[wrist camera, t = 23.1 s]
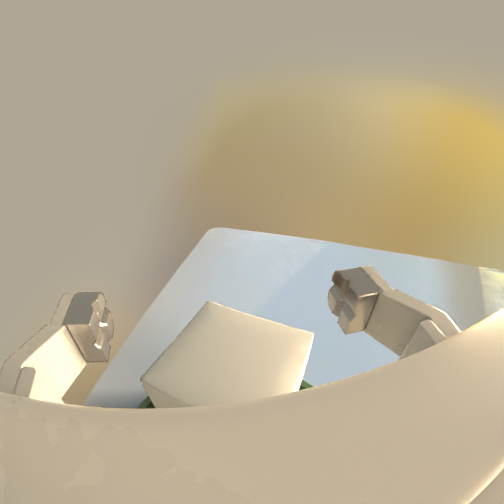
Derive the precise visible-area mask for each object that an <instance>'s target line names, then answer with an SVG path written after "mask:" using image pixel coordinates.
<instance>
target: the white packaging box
mask: <svg viewBox="0 0 504 504" xmlns="http://www.w3.org/2000/svg"><path fill="white" fill-rule="evenodd" d="M313 336H314V334H313V333H312V332H308V331H304V330H300V329H297V328H293V327H289V326H286V325H282V324H279V323H275V322H272V321H269V320H266V319H262V318H259V317H256V316H253V315H249V314H246V313H243V312H240V311H237V310H234V309H231V308H228V307H225V306H222V305H219V304H216V303H213V302H210V301H207V302H206V304H205V305H204V306H203V307H202V308H201V309H200V310H199V312H198V313H197V314H196V315H195V316H194V318H193V319H192V320H191V321H190V322H189V323H188V325H187V326H186V327H185V328H184V329H183V330H182V332H181V333H180V334H179V335H178V336H177V337H176V339H175V340H174V341H173V342H172V343H171V344H170V346H169V347H168V348H167V349H166V350H165V351H164V352H163V353H162V354H161V355H160V357H159V358H158V359H157V360H156V361H155V362H154V363H153V364H152V365H151V367H150V368H149V369H148V370H147V371H146V372H145V373H144V374H143V375H142V376H141V378H140V381H141V383H142V385H143V387H144V388H145V390H146V392H147V394H148V396H149V398H150V399H151V401H152V403H153V405H154V406H155V408H180V407H195V406H206V405H216V404H225V403H233V402H240V401H247V400H253V399H259V398H265V397H271V396H276V395H281V394H286V393H291V392H295V391H299V388H300V384H301V381H302V378H303V374H304V371H305V367H306V364H307V360H308V357H309V353H310V349H311V345H312V341H313Z"/></svg>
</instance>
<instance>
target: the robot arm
mask: <svg viewBox="0 0 504 504" xmlns="http://www.w3.org/2000/svg"><path fill="white" fill-rule="evenodd" d="M332 282H333V283H334V285H333V286H332V287H331V288H330V290H329V293H328V305H329V308H330V310H331V312H332V314H334V315H336V316H337V317H339V318H338V324H339V325H340V327H341V328H342V330H343V332H344V333H345V334H350V333H355V332H359V331H364V330H365V331H364V332H366V333H367V334H369V335H370V336H371V337H373V338H374V339H376V340H377V341H379V342H380V343H381V344H383V345H384V346H386V347H387V348H389V349H390V350H392V351H393V352H394V353H396V354H397V355H399V356H400V358H399V359H398V361H395V362H393V363H390V364H387V365H385V366H382V367H379V368H376V369H373V370H370V371H367V372H364V373H361V374H358V375H355V376H352V377H348V378H345V379H342V380H338V381H335V382H331V383H328V384H324V385H320V386H316V387H312V388H308V389H304V390H300V391H295V392H291V393H286V394H281V395H276V396H271V397H265V398H259V399H253V400H247V401H240V402H233V403H225V404H216V405H206V406H195V407H180V408H152V409H132V408H105V407H91V406H79V405H71V404H65V403H64V402H63V401H62V400H61V398H62V397H63V395H64V394H65V392H66V391H67V390H68V388H69V387H70V385H71V384H72V383H73V381H74V380H75V379H76V377H77V376H78V375H79V373H80V372H81V371H82V369H83V368H84V367H85V365H86V364H87V363H86V362H108V359H109V353H110V348H111V347H110V345H109V342H108V341H109V340H110V339H111V338H112V337H113V331H114V325H113V319H112V315H111V312H110V311H109V310H108V309H107V308H106V307H105V305H106V299H105V297H104V294H103V293H101V292H85V293H65V294H63V295H62V297H61V299H60V301H59V304H58V306H57V308H56V310H55V313H54V315H53V317H52V319H51V322H50V324H49V325H45V326H44V327H43V328H42V329H41V330H39V331H38V332H37V333H36V334H35V335H34V336H32V337H31V338H30V339H29V340H28V341H27V342H26V343H24V344H23V345H22V346H21V347H20V348H19V349H18V350H17V351H16V352H15V353H14V354H12V355H11V356H10V357H9V358H8V359H7V360H6V361H5V362H4V364H3V367H2V369H1V372H0V504H504V308H502V309H501V310H499V311H497V312H496V313H494V314H492V315H491V316H489V317H487V318H486V319H484V320H482V321H481V322H479V323H477V324H475V325H473V326H472V327H470V328H468V329H466V330H464V331H462V332H461V331H460V329H459V328H458V327H457V326H456V325H455V324H454V322H453V321H452V320H451V319H450V318H449V317H448V316H447V314H446V313H445V312H443V311H441V310H439V309H437V308H435V307H433V306H430V305H428V304H426V303H424V302H422V301H420V300H418V299H416V298H413V297H411V296H409V295H407V294H405V293H403V292H401V291H398V290H393V289H392V288H391V287H390V286H389V285H388V284H387V282H386V281H385V280H384V279H383V278H382V277H381V276H380V275H379V274H378V273H377V271H376V270H375V269H374V268H373V267H371V266H364V267H358V268H354V269H347V270H339V271H335V272H334V274H333V277H332Z"/></svg>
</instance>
